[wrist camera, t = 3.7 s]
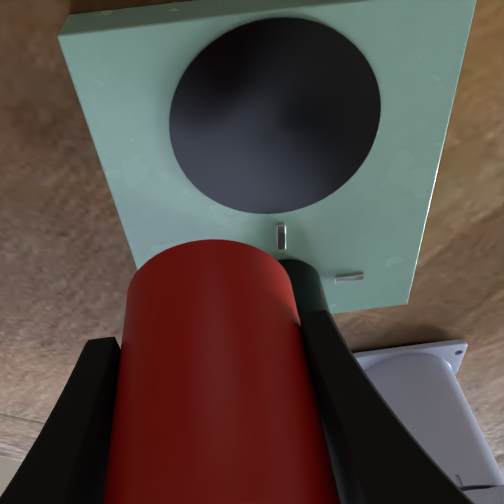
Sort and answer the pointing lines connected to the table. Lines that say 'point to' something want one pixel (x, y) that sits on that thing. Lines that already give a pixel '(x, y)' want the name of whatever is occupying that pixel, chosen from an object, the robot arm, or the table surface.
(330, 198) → the hotplate
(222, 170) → the ring
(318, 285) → the dial
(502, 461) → the table surface
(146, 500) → the ketchup bottle
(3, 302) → the table surface
